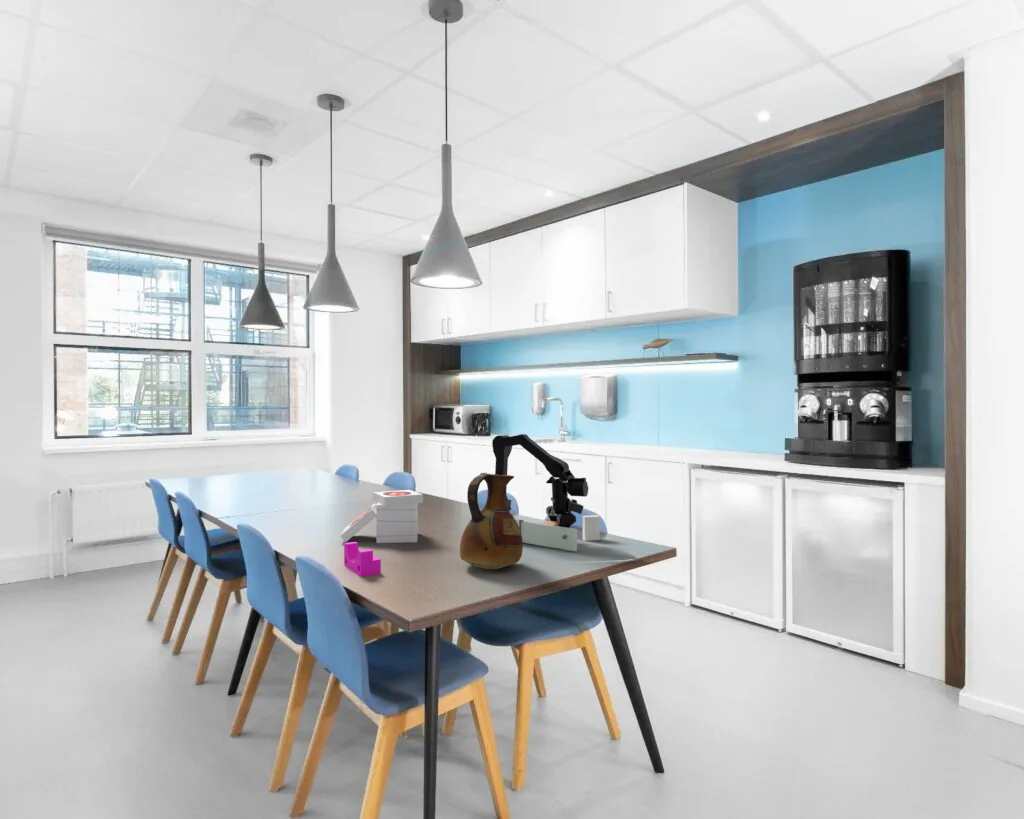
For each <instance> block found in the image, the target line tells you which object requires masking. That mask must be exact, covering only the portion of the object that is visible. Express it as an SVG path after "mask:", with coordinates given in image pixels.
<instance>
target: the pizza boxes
mask: <svg viewBox="0 0 1024 819" xmlns="http://www.w3.org/2000/svg"><path fill="white" fill-rule="evenodd" d="M372 501H373V502H374V504H371V506H370V507H369V508H367V509H366V510H365V511H364V512H363V513H361V514H360V515H359V516H357V518H355V519H353V521H352V522H351V523H349V524H348V525H347V526H346V527H345V528H344V529H343V531H342V532H341V534H340V538H341V539H343V542H344V543H348V541H349V540H350V539H352V537H354V536H355V535H356V534H358V533H359V532H360V531H361V530H362V529H363V528H364V527H366V526H367V525H368V524H369V523H370V522H372V521H373V520H376V521H375V522H376V529H375V530H376V534H375V535H376V540H375V541H376V544H385V543H386V544H391V543H393V544H394V543H395V544H396V543H418V537H419V536H418V534H419V532H418V531H419V530H418V527H419V526H418V525H419V524H418V523H419V521H418V520H419V517H418V516H419V514H418V510H419V509H418V507H419V504H423V503H424V494H423V493H420V492H417V491H415V490H414V491H413V490H411V489H403V490H400V489H399V490H390V491H389V490H386V491H374V492H372ZM375 518H376V519H375Z"/></svg>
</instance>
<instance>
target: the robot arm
mask: <svg viewBox="0 0 1024 819" xmlns="http://www.w3.org/2000/svg"><path fill="white" fill-rule="evenodd" d="M491 441H492V442H491V445H492V452H493V456H494V457H495V465H494V466H495V467H494V468H495V470H494V471H495V472H494V474H496V475H508V469H509V468H508V466H509V465H508V464H509V457H510V455H511V453H512V449H513V446H518V445H519V446H521V448H523V449H524V450H526V451H527V452H528V453H529V454H531V456H533V457H534V458H536V460H538V461H539V462H540V463H541V464H542V465H543V466H544V468H545V470H546V471H547V472H548V473H549V474H550V475H551V476H550V477H549V478H548V479H547V480H546V481H545V483H546V484H551V493H552V495H551V496H552V497H550V501H552V505H548V506H547V507H546V509H545V514H546V515H547V518H548V519H549V521H555V522H557V524H558V526H560V527H567V528H571V526H572V525H574V524H575V523H576V522H577V516H576V515H575V514H573V513H572V512H574V513H576V514H579V515H582V513H583V510H584V507H585V506H584V505H582V504H580V503H578V501H577V499H574V498H569V496H570V497H585V498H586V497H587V496H588V495H589V494H588V493H589V484H588V481H587V478H586V477H575V475H574V474H573V473H572V471H571V470H570V465H569V464H568V462H566V461H564V460H563V459H561V458H559V457H557V456H554V455H552V454H550V453H549V452H548V451H547V450H546V449H544V448H543V447H542V446H540V445H539V444H538V443H537V442H535V441H534V439H532V438H530V437H529V436H528V434H526V433H521V434H517V435H512V436H511V435H508V434H504V435H503V434H502V435H497V436H495V437H494V438H493V439H492V440H491ZM507 488H508V486H506V491H507ZM568 495H569V496H568ZM505 504H506V509H507V511H508V512H509V513H511V510H512V507H511V505H512V499H508V496H507V494H506V496H505Z"/></svg>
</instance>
